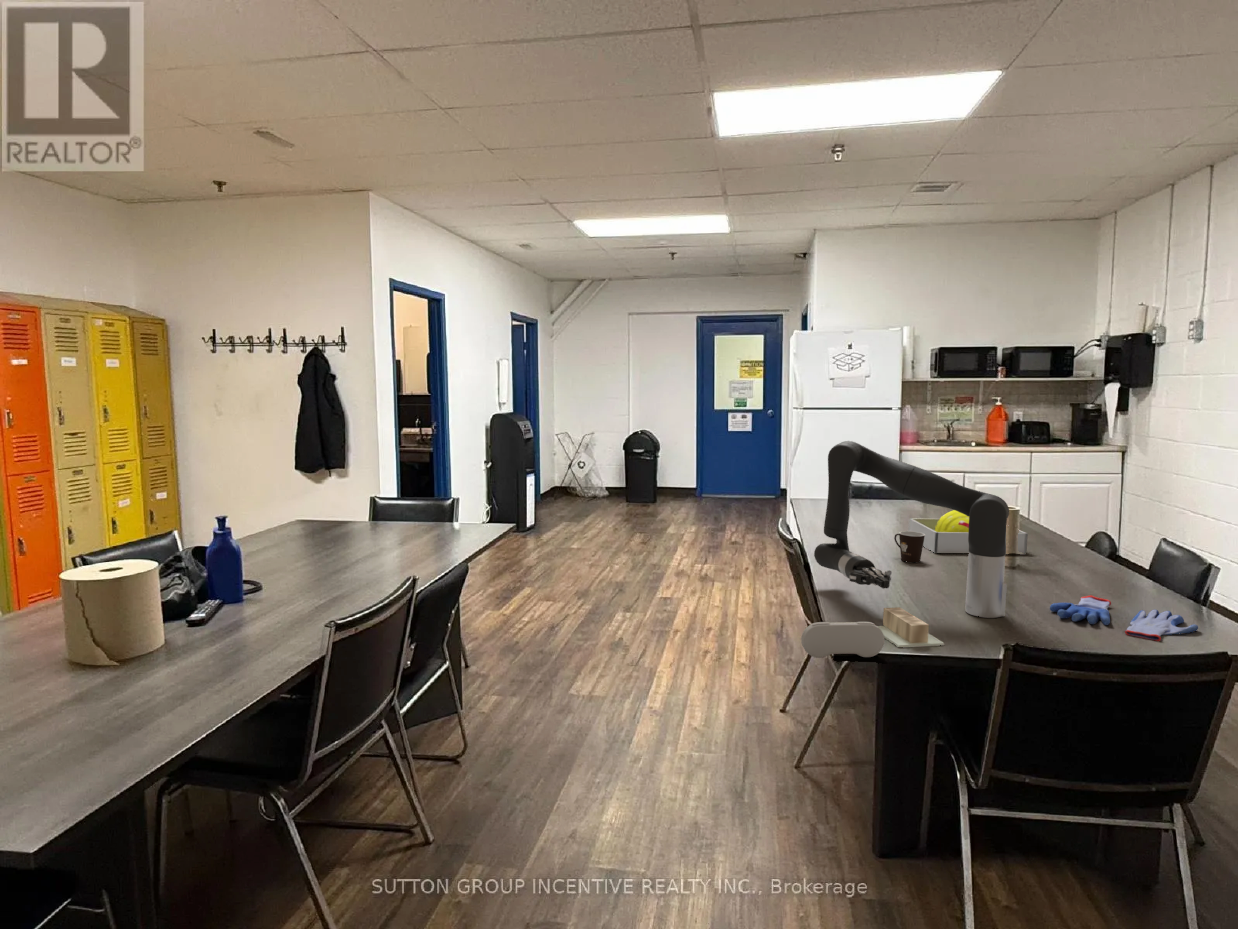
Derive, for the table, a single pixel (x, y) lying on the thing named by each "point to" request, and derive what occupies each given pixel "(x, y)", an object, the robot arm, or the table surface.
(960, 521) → the hard hat
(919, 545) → the coffee mug
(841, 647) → the game controller
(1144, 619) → the pair of gloves
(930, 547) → the grey crate
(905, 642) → the felt mat
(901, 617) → the beech block
